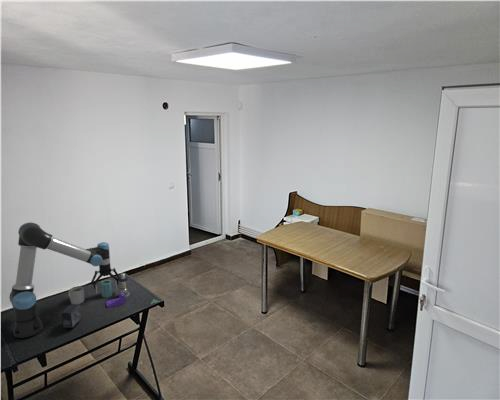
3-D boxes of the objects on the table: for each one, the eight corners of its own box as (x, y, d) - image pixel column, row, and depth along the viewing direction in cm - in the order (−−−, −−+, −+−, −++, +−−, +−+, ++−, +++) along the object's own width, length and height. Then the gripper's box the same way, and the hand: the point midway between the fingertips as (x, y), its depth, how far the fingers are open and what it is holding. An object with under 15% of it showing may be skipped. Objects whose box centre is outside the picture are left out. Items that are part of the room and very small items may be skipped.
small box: (71, 318, 220) (70, 303, 218) (81, 319, 220) (80, 304, 218) (62, 327, 210) (60, 312, 208) (72, 328, 209) (71, 312, 207)
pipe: (120, 296, 248) (119, 275, 245) (120, 293, 252) (119, 273, 249) (127, 295, 250) (126, 274, 247) (127, 292, 254) (125, 272, 251)
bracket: (123, 300, 246) (123, 291, 244) (125, 304, 240) (124, 295, 239) (105, 303, 240) (105, 295, 239) (107, 308, 234) (106, 299, 233)
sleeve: (101, 299, 246) (100, 285, 244) (101, 294, 253) (100, 281, 250) (112, 297, 249) (111, 283, 247) (112, 292, 256) (111, 279, 254)
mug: (85, 302, 241) (84, 289, 239) (70, 306, 235) (69, 293, 234) (83, 296, 250) (81, 283, 248) (68, 300, 244) (67, 287, 242)
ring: (119, 282, 245) (118, 279, 244) (118, 279, 250) (118, 276, 250) (127, 281, 247) (127, 278, 247) (127, 277, 253) (126, 275, 252)
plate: (118, 299, 246) (118, 297, 246) (118, 294, 253) (117, 293, 253) (130, 297, 249) (130, 295, 249) (129, 292, 256) (129, 291, 256)
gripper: (85, 268, 237) (88, 296, 241) (123, 262, 248) (125, 289, 252) (85, 264, 244) (88, 291, 248) (122, 259, 254) (124, 285, 259)
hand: (106, 290), depth 250 cm, fingers open, 13 cm apart
